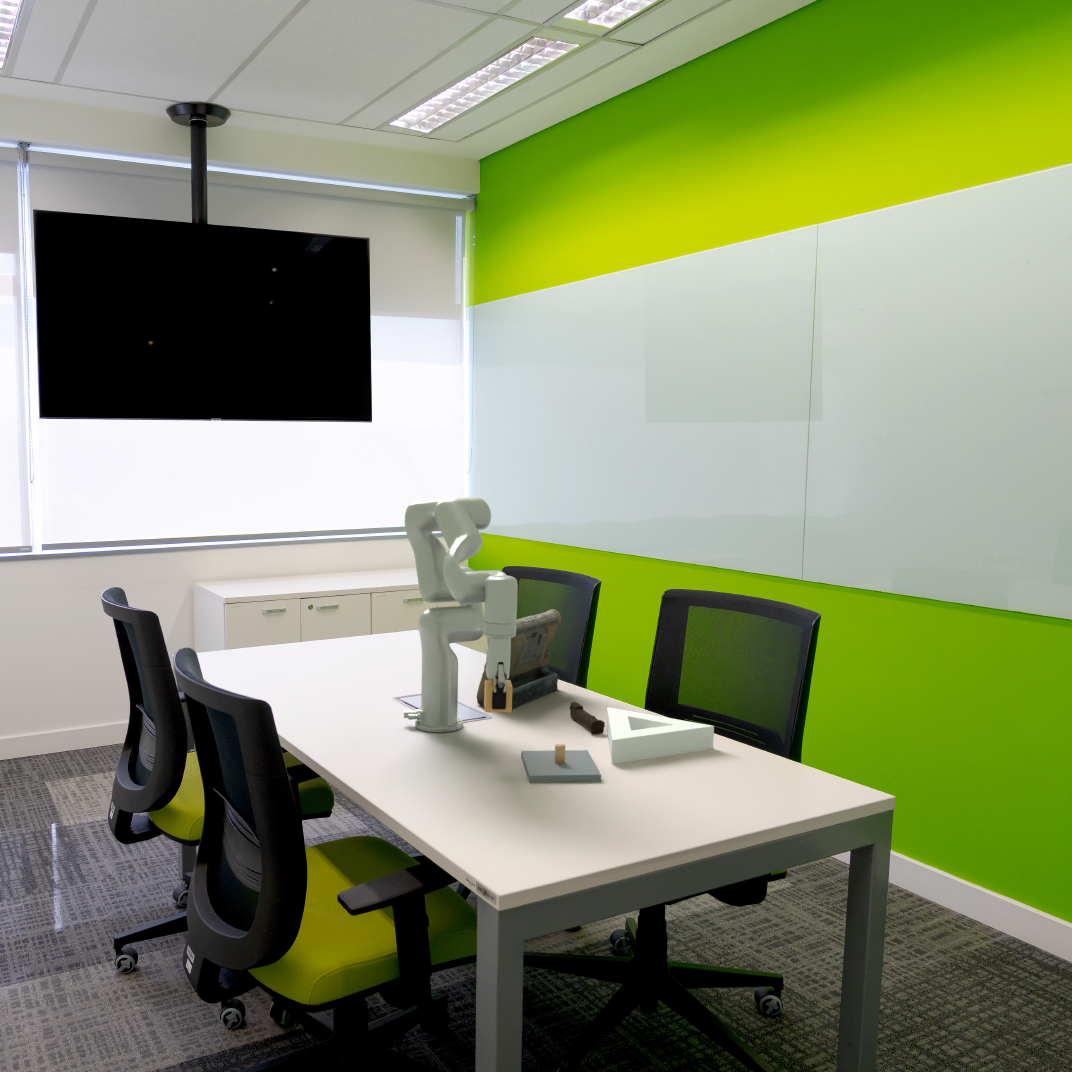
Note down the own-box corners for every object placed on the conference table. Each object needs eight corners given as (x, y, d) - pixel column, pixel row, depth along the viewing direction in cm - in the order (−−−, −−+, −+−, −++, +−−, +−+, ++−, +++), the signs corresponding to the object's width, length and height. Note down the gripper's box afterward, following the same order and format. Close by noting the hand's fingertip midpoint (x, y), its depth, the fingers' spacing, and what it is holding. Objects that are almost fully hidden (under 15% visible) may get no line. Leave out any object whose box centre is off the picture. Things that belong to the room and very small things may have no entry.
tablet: (522, 683, 310) (524, 604, 308) (562, 688, 304) (564, 608, 302) (473, 706, 280) (474, 619, 278) (516, 712, 275) (518, 624, 273)
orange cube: (485, 712, 226) (486, 686, 225) (483, 705, 232) (484, 680, 231) (511, 712, 227) (512, 686, 226) (509, 705, 233) (510, 680, 232)
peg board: (529, 782, 217) (530, 758, 216) (521, 757, 235) (521, 734, 234) (600, 781, 219) (601, 757, 218) (587, 756, 237) (587, 733, 236)
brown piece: (605, 734, 256) (605, 717, 255) (590, 735, 254) (591, 718, 254) (580, 716, 274) (580, 699, 273) (566, 716, 272) (567, 700, 272)
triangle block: (606, 730, 261) (607, 707, 261) (704, 733, 260) (705, 710, 260) (611, 766, 231) (612, 740, 231) (722, 770, 230) (723, 743, 230)
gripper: (481, 621, 235) (479, 695, 237) (486, 636, 218) (484, 715, 220) (512, 621, 236) (510, 695, 238) (519, 636, 219) (517, 715, 221)
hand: (497, 704), depth 229 cm, fingers closed on orange cube, 5 cm apart
